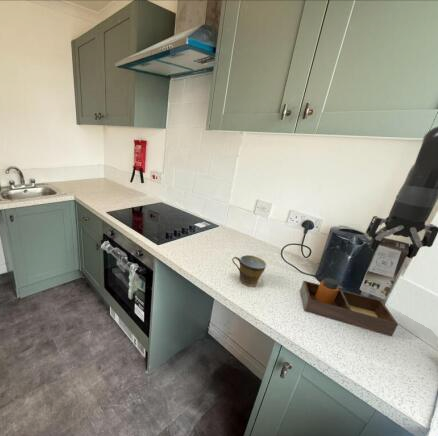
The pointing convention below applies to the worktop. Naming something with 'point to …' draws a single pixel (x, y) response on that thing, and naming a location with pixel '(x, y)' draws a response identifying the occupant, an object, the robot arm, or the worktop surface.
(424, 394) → the worktop surface
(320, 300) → the spice bottle
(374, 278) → the coffee box
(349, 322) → the holder
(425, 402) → the worktop surface
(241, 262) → the ceramic cup
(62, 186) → the worktop surface
